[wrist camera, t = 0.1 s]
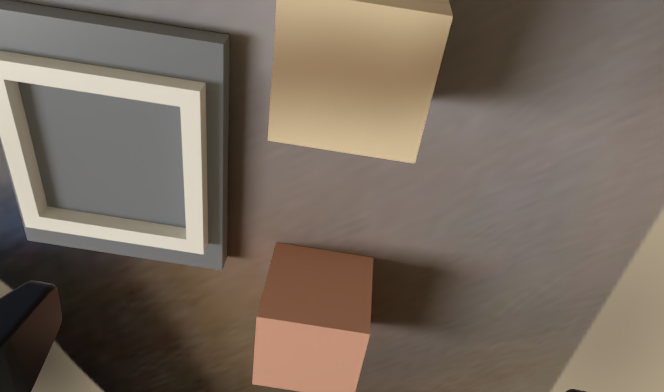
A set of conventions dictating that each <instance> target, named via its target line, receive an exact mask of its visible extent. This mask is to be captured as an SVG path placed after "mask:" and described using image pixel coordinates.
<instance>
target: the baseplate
mask: <svg viewBox="0 0 664 392" xmlns="http://www.w3.org/2000/svg"><path fill="white" fill-rule="evenodd" d="M229 58H230V35H228V34H221V33H215V32H209V31H202V30H196V29H189V28H183V27H177V26H170V25H164V24H157V23H151V22H145V21H138V20H132V19H125V18H119V17H113V16H106V15H100V14H93V13H87V12H81V11H74V10H68V9H61V8H55V7H49V6H42V5H36V4H29V3H23V2H17V1H10V0H0V144H1V148H2V151H3V155H4V158H5V162H6V165H7V169H8V173H9V176H10V180H11V183H12V187H13V190H14V194H15V197H16V201H17V204H18V208H19V211H20V215H21V218H22V222H23V225H24V229H25V233H26V236H27V240H29V241H36V242H42V243H49V244H55V245H61V246H68V247H74V248H81V249H87V250H94V251H100V252H107V253H113V254H120V255H126V256H132V257H139V258H145V259H152V260H158V261H165V262H171V263H178V264H184V265H191V266H197V267H203V268H210V269H216V270H222V269H223V267H224V264H225V261H226V258H227V216H228V137H229Z"/></svg>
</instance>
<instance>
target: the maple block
mask: <svg viewBox="0 0 664 392" xmlns="http://www.w3.org/2000/svg"><path fill="white" fill-rule="evenodd" d="M452 19H453V14H452V10H451V7H450V3H449V0H277V3H276V19H275V35H274V50H273V66H272V82H271V97H270V113H269V129H268V141H274V142H280V143H287V144H293V145H299V146H306V147H312V148H319V149H325V150H331V151H338V152H344V153H351V154H357V155H363V156H370V157H376V158H383V159H389V160H395V161H402V162H408V163H415V161H416V157H417V153H418V149H419V145H420V141H421V138H422V134H423V130H424V126H425V122H426V118H427V115H428V111H429V107H430V103H431V99H432V95H433V92H434V88H435V84H436V80H437V76H438V72H439V69H440V65H441V61H442V57H443V53H444V49H445V46H446V42H447V38H448V34H449V30H450V26H451V23H452Z"/></svg>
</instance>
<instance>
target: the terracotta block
mask: <svg viewBox="0 0 664 392" xmlns="http://www.w3.org/2000/svg"><path fill="white" fill-rule="evenodd" d="M372 278H373V257H366V256H360V255H353V254H347V253H341V252H334V251H328V250H321V249H315V248H308V247H302V246H296V245H289V244H283V243H276V245H275V249H274V253H273V256H272V260H271V264H270V268H269V272H268V275H267V279H266V283H265V287H264V291H263V294H262V298H261V302H260V306H259V310H258V313H257V319H256V334H255V350H254V365H253V381H252V384H255V385H262V386H268V387H274V388H281V389H287V390H294V391H300V392H355V390H356V386H357V383H358V379H359V375H360V371H361V367H362V363H363V360H364V356H365V352H366V348H367V344H368V340H369V337H370V325H371V301H372Z"/></svg>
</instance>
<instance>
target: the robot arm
mask: <svg viewBox="0 0 664 392" xmlns="http://www.w3.org/2000/svg"><path fill="white" fill-rule="evenodd" d="M61 320H62V314H61V307H60V301H59V295H58V290H57V287H56V286H55V285H53V284H50V283H45V282H40V281H29V282H26V283H24V284H23V285H21V286H19V287H18V288H16V289H15V290H13V291H11V292H10V293H8V294H6V295H5V296H3V297H2V298H0V392H31V391H32V388H33V386H34V384H35V382H36V379H37V377H38V375H39V373H40V370H41V368H42V366H43V364H44V362H45V359H46V357H47V355H48V353H49V350H50V348H51V346H52V344H53V342H54V339H55V337H56V335H57V333H58V330H59V328H60V325H61ZM566 392H585V391H580V390H575V389H570V390H568V391H566Z"/></svg>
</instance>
